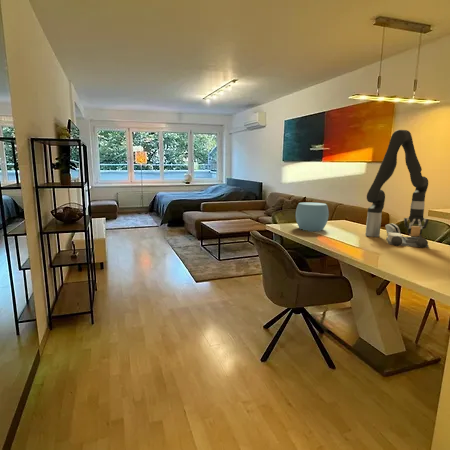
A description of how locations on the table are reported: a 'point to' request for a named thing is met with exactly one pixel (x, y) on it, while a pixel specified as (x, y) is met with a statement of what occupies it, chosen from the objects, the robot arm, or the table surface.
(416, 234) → the block
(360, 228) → the table surface
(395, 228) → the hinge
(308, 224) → the planter
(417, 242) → the chassis
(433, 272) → the table surface
